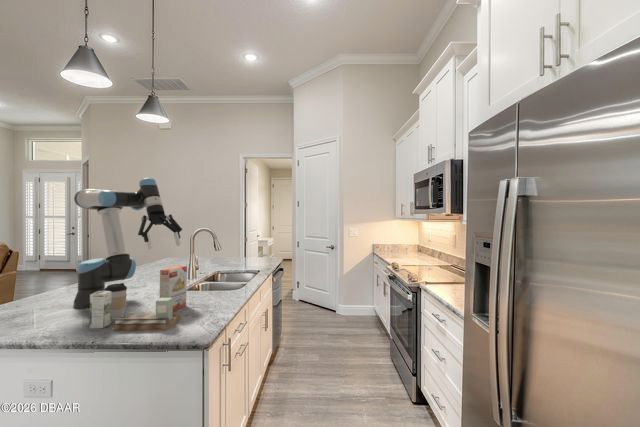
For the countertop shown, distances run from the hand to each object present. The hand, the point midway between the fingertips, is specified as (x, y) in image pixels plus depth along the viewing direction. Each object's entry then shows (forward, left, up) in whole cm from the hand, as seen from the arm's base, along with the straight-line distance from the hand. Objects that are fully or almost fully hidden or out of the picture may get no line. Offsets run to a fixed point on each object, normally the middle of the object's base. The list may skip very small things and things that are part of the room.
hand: (165, 246), depth 155 cm
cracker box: (+1, +8, -32) cm, 33 cm away
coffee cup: (-21, -3, -32) cm, 39 cm away
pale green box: (+6, -15, -30) cm, 34 cm away
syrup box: (-20, -16, -32) cm, 41 cm away
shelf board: (-1, -14, -32) cm, 35 cm away
